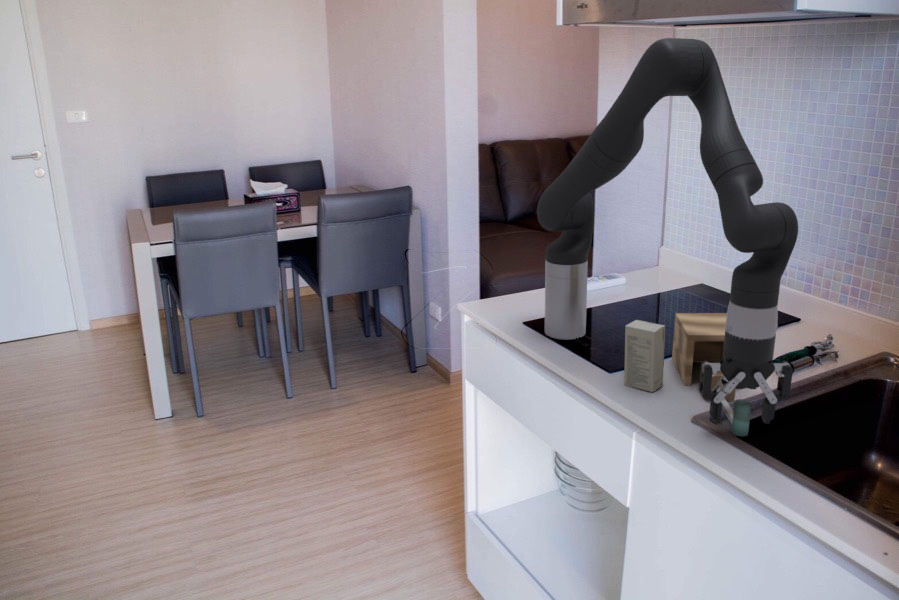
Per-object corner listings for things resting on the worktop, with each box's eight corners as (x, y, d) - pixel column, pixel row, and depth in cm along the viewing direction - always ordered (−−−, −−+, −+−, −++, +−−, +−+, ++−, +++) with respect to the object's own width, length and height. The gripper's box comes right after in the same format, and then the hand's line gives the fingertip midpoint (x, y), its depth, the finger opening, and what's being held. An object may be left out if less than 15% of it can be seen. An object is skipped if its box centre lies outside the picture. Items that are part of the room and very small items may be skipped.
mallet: (699, 389, 140) (701, 362, 138) (726, 389, 140) (728, 362, 138) (726, 436, 123) (729, 406, 121) (757, 436, 123) (761, 406, 121)
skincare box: (663, 385, 142) (667, 325, 138) (652, 393, 139) (656, 332, 135) (633, 376, 146) (636, 318, 142) (621, 384, 143) (624, 324, 139)
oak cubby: (671, 359, 153) (675, 313, 150) (724, 360, 152) (728, 313, 149) (684, 385, 142) (688, 335, 138) (740, 385, 141) (746, 335, 138)
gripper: (789, 320, 121) (777, 411, 127) (698, 320, 122) (691, 410, 128) (806, 337, 114) (793, 433, 120) (710, 337, 115) (701, 431, 121)
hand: (740, 420), depth 124 cm, fingers open, 7 cm apart
